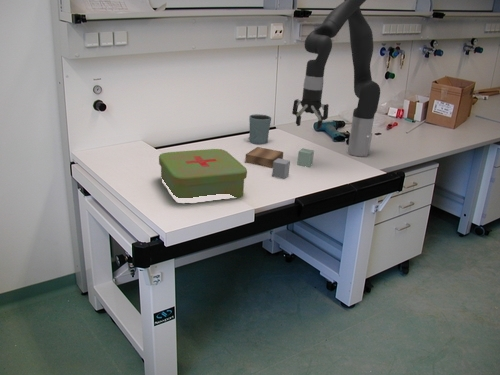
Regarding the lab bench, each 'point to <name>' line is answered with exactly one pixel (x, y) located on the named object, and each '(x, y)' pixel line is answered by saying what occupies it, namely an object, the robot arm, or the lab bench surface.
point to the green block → (305, 157)
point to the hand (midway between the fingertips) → (308, 127)
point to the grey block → (281, 168)
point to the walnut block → (263, 157)
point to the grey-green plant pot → (259, 128)
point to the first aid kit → (202, 173)
